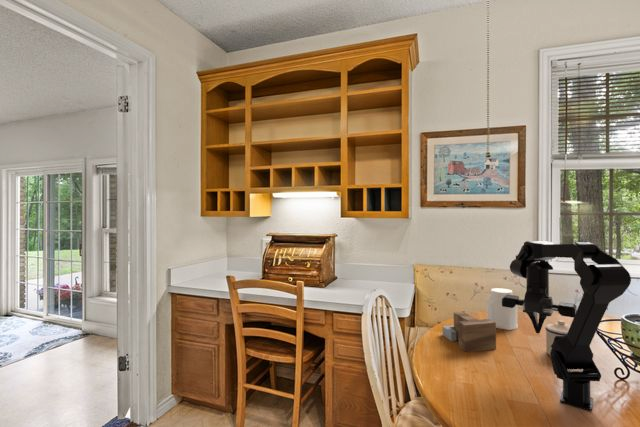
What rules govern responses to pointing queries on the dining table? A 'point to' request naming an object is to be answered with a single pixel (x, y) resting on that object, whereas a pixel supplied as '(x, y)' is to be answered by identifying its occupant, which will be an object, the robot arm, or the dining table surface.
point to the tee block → (474, 332)
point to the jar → (501, 310)
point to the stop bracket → (449, 332)
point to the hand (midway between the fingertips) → (537, 333)
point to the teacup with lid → (555, 333)
